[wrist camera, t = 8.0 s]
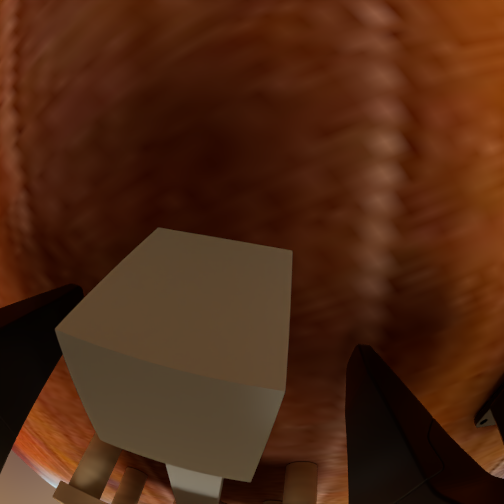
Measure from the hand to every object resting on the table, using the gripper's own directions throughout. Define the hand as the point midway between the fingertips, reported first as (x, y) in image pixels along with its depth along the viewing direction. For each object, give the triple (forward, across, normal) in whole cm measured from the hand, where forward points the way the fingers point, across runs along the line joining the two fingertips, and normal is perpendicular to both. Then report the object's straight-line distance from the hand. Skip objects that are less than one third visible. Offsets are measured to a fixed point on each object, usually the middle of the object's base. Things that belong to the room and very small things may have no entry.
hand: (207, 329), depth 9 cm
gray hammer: (+1, 0, +7) cm, 8 cm away
